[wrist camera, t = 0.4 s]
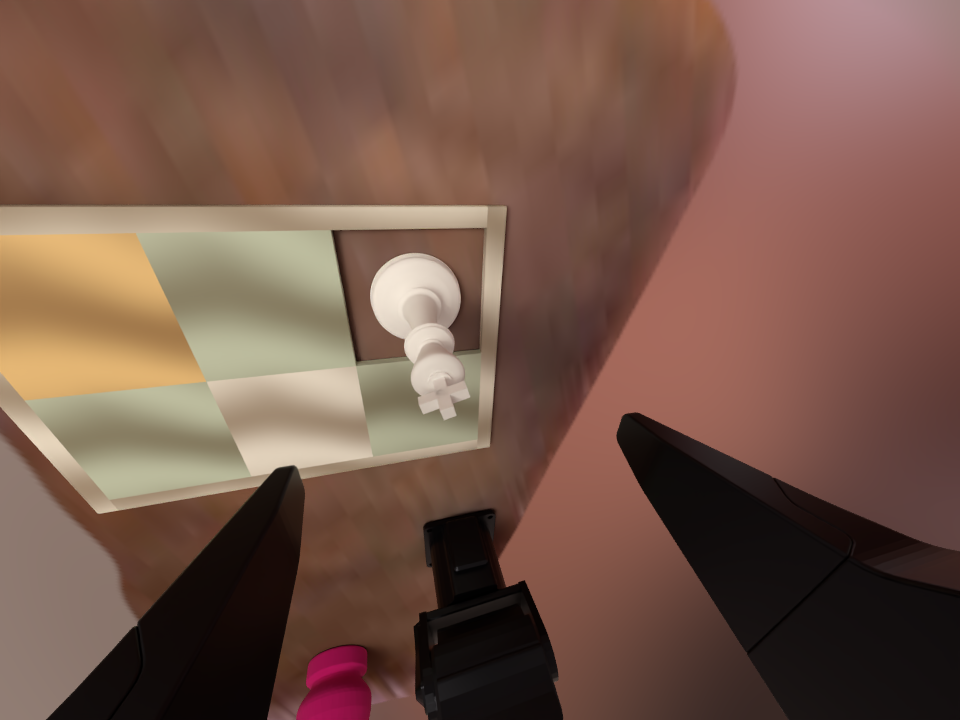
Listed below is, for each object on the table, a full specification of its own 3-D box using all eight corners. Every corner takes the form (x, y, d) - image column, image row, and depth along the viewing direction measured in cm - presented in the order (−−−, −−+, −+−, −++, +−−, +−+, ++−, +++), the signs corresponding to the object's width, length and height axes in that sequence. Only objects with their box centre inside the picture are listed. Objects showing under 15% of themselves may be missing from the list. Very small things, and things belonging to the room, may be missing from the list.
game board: (487, 442, 27) (489, 446, 26) (103, 506, 21) (97, 513, 21) (503, 205, 18) (506, 206, 17) (-164, 204, 12) (-183, 206, 12)
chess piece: (354, 269, 18) (337, 381, 9) (445, 240, 18) (506, 323, 10) (390, 347, 20) (402, 485, 12) (469, 320, 21) (531, 437, 13)
